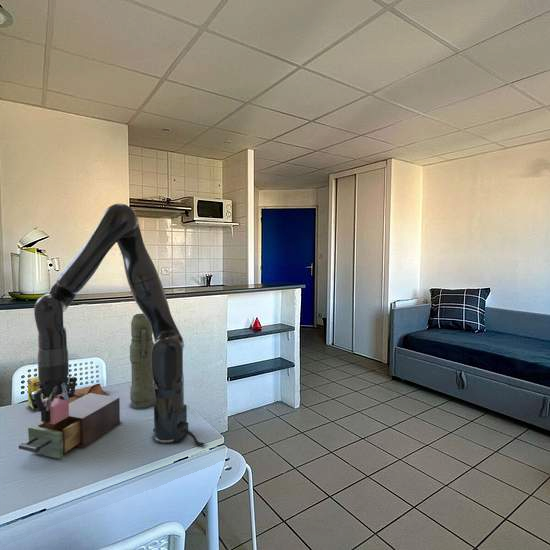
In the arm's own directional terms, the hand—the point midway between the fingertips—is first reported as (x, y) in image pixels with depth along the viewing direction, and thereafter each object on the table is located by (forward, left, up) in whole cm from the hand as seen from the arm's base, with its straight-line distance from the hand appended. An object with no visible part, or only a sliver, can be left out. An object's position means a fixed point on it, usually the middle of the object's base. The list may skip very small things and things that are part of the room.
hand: (55, 417), depth 103 cm
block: (0, 0, 0) cm, 0 cm away
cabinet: (0, -11, -10) cm, 15 cm away
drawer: (0, -1, -9) cm, 9 cm away
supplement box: (+31, -20, -10) cm, 39 cm away
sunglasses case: (+21, -29, -10) cm, 38 cm away
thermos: (-4, -34, -10) cm, 36 cm away
